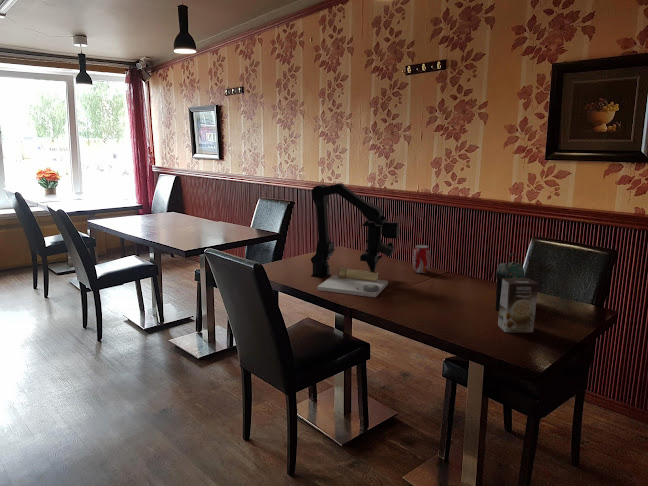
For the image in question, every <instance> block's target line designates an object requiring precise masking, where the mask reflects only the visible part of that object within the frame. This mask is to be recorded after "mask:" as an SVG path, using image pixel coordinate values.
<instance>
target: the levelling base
mask: <svg viewBox="0 0 648 486" xmlns="http://www.w3.org/2000/svg"><path fill="white" fill-rule="evenodd" d="M388 283H389V281H388V280H384V279H383V280H382V279H378V280H377V281H370V280H361V279H352V278H339V277H338V275H337V274H333V275H332V276H330V277H329V278H327V279H326V280H325V281H323V282H322V283H321V284H318V286H317V291H322V292H328V293H330V292H331V293H337V294H338V293H339V294H346V295H352V296H353V295H354V296H362V297H370V298H377V296H379V295H380V294H381V292H382V291H383V290H384V289H385V288H386V287H387V286H388V285H389V284H388Z"/></svg>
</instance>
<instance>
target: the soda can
mask: <svg viewBox="0 0 648 486" xmlns="http://www.w3.org/2000/svg"><path fill="white" fill-rule="evenodd" d="M414 246H415V247H414V249H413V258H412V261H413V262H412V269H413V272H414V273H416V274H420V273H423V274H427V273H428V272H429V270H430V257H431V255H430V251H431V250H430V248H429V245H425V244H417V245H414Z"/></svg>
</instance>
